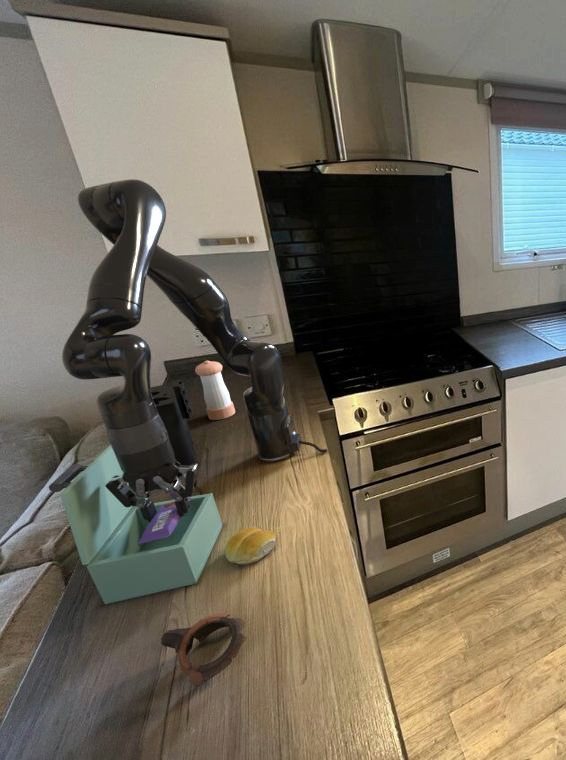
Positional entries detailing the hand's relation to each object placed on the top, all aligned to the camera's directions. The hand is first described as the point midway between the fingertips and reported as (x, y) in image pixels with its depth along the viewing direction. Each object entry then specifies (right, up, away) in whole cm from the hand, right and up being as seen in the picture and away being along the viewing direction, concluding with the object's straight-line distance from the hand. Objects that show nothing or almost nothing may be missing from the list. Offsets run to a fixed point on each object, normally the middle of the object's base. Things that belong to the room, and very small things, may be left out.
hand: (169, 516), depth 85 cm
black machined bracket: (-28, +3, +36) cm, 46 cm away
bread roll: (+13, -9, +6) cm, 17 cm away
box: (-2, -10, +3) cm, 11 cm away
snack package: (0, -1, -1) cm, 2 cm away
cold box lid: (-8, +5, -5) cm, 10 cm away
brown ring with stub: (+19, -17, -15) cm, 30 cm away
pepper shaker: (-33, +12, +59) cm, 69 cm away
